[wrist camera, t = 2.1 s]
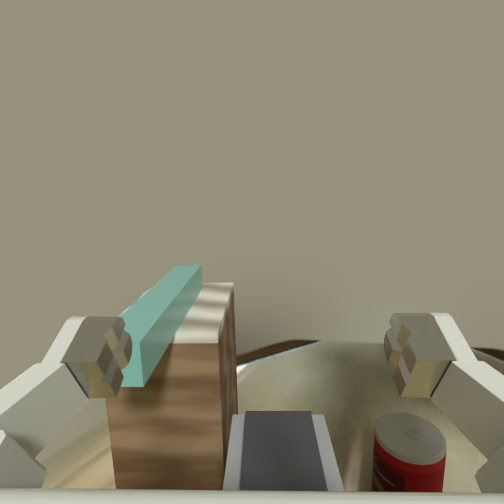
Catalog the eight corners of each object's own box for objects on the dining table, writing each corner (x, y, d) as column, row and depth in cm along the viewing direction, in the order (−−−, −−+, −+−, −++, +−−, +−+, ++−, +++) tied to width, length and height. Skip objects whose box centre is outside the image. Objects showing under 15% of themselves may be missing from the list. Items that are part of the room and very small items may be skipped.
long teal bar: (143, 386, 24) (139, 342, 24) (96, 387, 24) (90, 342, 24) (202, 288, 48) (201, 264, 47) (178, 288, 48) (176, 265, 47)
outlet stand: (227, 548, 38) (217, 333, 33) (123, 546, 38) (97, 334, 33) (238, 430, 56) (233, 281, 51) (168, 430, 56) (156, 282, 51)
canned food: (442, 502, 43) (450, 426, 41) (433, 558, 36) (442, 472, 34) (380, 474, 47) (384, 404, 45) (362, 519, 41) (366, 441, 39)
